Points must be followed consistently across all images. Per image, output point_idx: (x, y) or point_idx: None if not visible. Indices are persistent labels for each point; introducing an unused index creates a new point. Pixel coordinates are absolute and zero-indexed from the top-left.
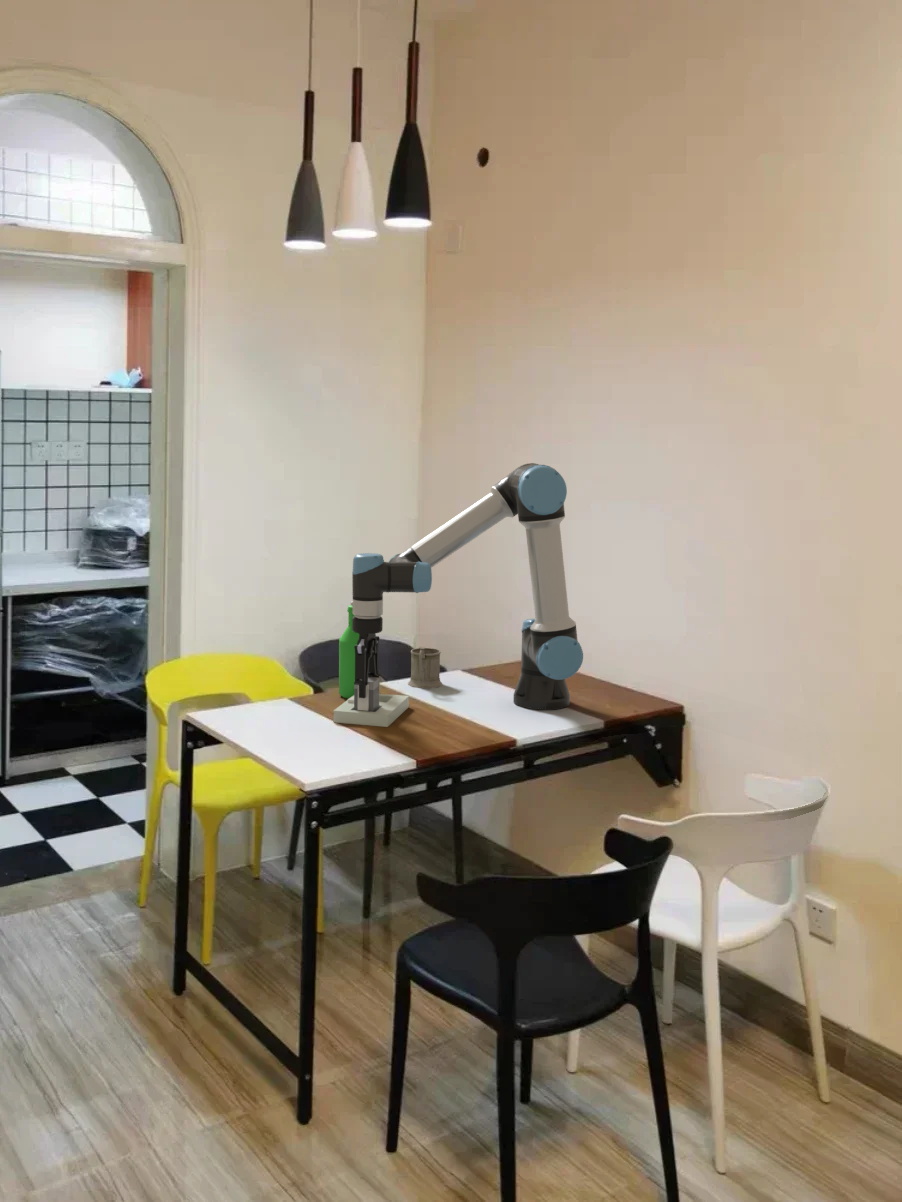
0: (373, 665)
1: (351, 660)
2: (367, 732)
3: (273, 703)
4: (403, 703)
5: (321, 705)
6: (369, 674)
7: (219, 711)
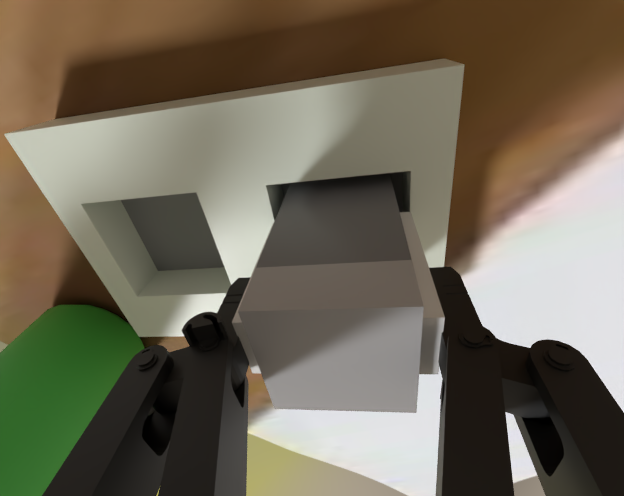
0: (221, 458)
1: (41, 478)
2: (576, 120)
3: (296, 441)
4: (115, 115)
5: (251, 371)
6: (232, 385)
7: (403, 485)
